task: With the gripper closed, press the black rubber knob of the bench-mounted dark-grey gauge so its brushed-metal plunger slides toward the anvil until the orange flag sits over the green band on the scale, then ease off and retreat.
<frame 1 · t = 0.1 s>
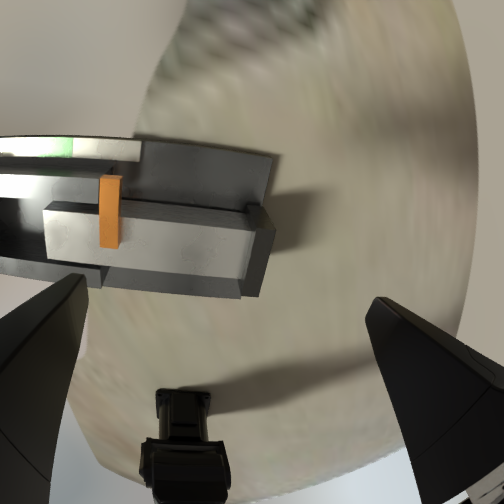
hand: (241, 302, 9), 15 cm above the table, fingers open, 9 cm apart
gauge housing: (100, 214, 21), on the table
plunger: (151, 226, 19), point 3 cm above the table, slide at 0.0 cm
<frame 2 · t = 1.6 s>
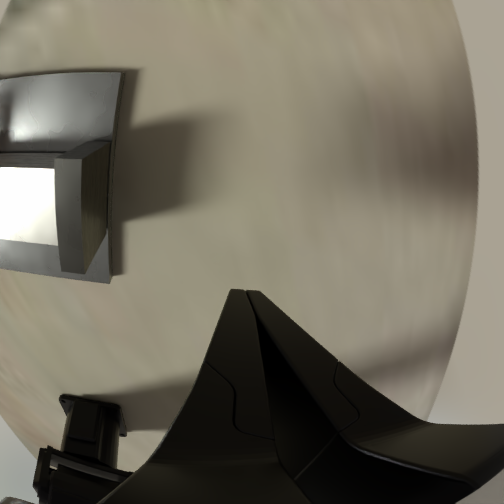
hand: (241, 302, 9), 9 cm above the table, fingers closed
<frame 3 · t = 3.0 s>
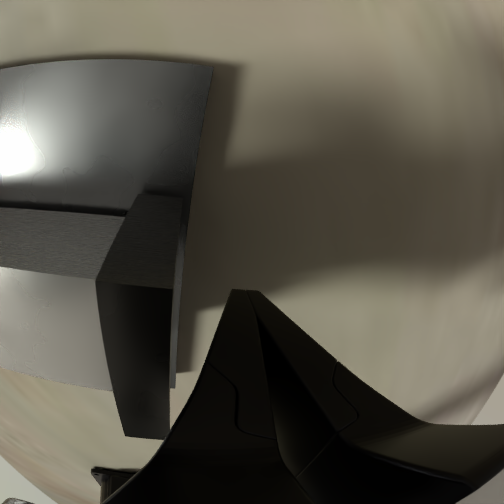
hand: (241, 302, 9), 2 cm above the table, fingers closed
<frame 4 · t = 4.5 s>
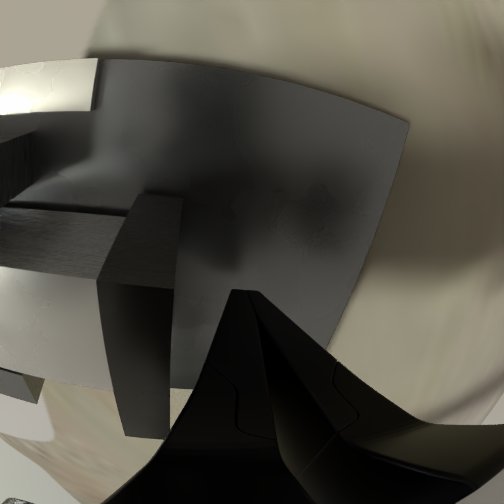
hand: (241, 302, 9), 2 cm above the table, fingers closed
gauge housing: (24, 243, 9), on the table
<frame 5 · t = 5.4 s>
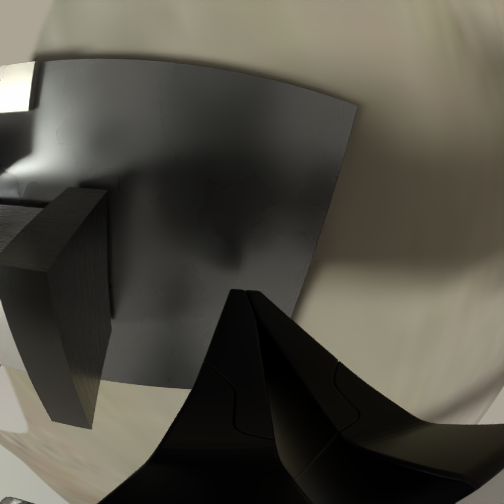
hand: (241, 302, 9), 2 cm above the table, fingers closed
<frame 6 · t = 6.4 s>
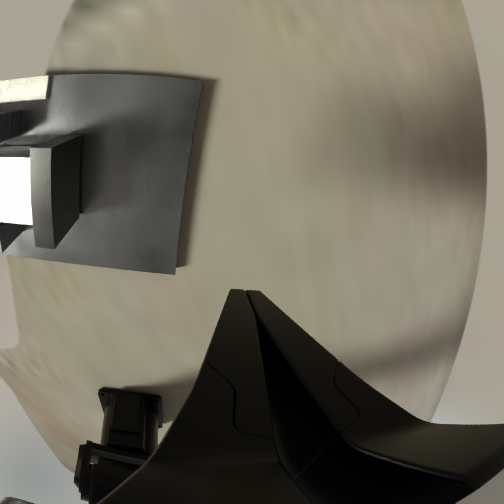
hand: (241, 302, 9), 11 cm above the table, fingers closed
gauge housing: (13, 169, 15), on the table
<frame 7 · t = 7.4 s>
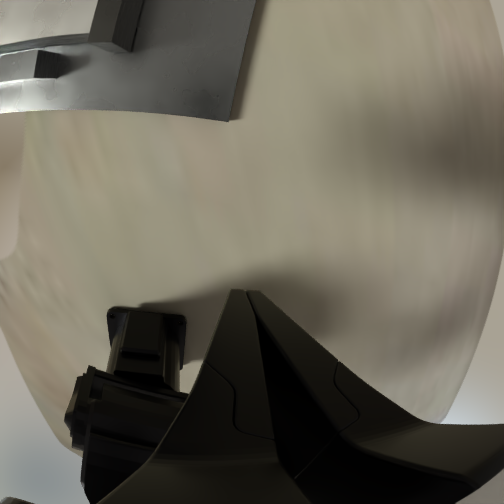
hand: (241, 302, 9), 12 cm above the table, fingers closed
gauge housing: (60, 22, 12), on the table
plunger: (18, 4, 8), point 3 cm above the table, slide at 6.3 cm
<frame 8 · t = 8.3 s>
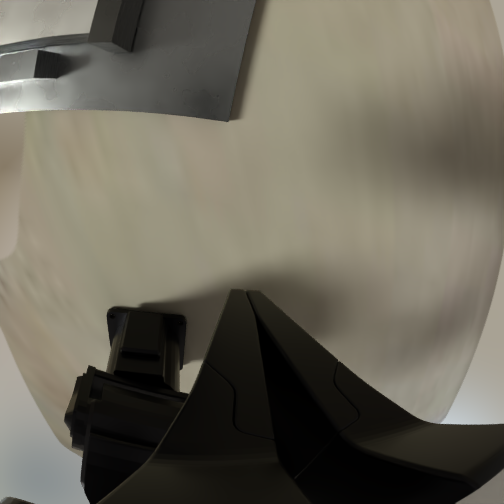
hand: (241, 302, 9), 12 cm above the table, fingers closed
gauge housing: (60, 22, 12), on the table
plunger: (18, 4, 8), point 3 cm above the table, slide at 6.3 cm
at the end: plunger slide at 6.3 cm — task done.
